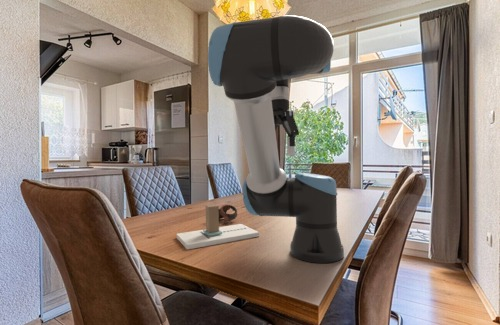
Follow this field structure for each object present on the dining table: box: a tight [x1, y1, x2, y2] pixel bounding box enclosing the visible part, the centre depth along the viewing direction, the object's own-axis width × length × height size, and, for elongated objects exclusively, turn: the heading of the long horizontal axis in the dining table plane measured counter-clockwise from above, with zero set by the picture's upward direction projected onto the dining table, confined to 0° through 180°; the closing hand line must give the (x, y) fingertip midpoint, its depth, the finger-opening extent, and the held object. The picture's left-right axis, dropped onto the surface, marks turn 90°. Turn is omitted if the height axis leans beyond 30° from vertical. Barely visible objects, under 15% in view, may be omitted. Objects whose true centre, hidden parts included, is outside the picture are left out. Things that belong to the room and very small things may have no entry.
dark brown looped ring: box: [219, 204, 238, 225], centre depth 118 cm, size 12×10×8 cm
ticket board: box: [176, 223, 260, 250], centre depth 95 cm, size 14×26×2 cm, turn 119°
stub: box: [202, 204, 222, 236], centre depth 94 cm, size 6×5×10 cm
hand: (279, 156), depth 101 cm, fingers open, 13 cm apart
